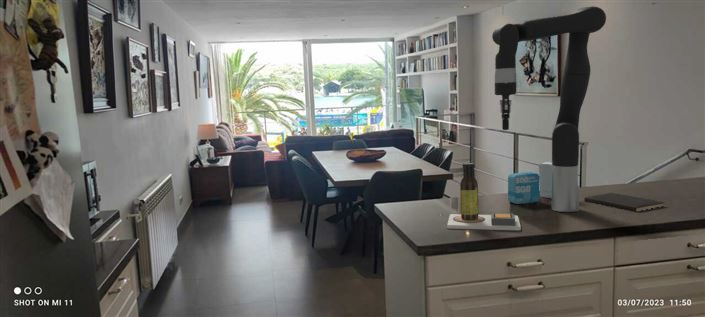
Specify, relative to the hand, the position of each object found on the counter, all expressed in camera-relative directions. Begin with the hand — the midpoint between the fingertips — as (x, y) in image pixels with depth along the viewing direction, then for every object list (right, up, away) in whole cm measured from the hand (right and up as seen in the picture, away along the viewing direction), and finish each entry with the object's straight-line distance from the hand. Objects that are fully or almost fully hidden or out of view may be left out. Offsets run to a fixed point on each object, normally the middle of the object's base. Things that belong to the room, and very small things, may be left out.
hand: (505, 129), depth 187 cm
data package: (+15, -29, +26) cm, 42 cm away
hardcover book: (+51, -29, +16) cm, 61 cm away
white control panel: (-10, -33, -6) cm, 35 cm away
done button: (-4, -32, -10) cm, 34 cm away
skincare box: (+29, -27, +34) cm, 52 cm away
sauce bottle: (-14, -32, -3) cm, 35 cm away
